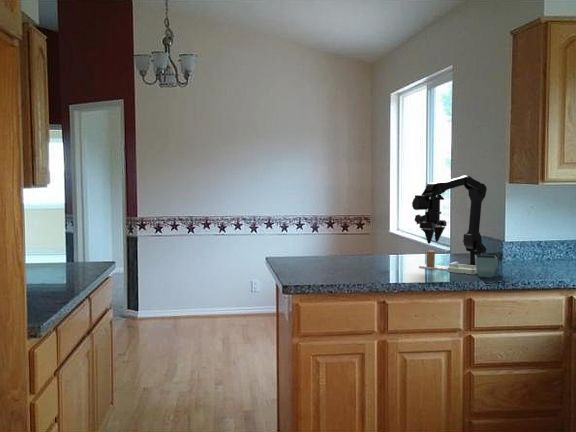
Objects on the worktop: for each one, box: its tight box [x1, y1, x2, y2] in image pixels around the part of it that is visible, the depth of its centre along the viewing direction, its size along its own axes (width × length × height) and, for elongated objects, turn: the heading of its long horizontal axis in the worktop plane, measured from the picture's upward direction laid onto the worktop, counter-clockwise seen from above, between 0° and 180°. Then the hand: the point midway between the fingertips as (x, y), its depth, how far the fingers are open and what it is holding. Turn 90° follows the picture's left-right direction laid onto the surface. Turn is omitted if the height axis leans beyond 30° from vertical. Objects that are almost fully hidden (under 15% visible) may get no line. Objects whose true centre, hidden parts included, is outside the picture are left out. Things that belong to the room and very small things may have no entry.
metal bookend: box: [418, 250, 459, 272], centre depth 295 cm, size 16×8×8 cm, turn 55°
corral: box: [447, 263, 478, 275], centre depth 288 cm, size 13×12×2 cm
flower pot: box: [475, 254, 499, 279], centre depth 273 cm, size 9×9×9 cm
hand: (432, 242), depth 297 cm, fingers open, 9 cm apart
